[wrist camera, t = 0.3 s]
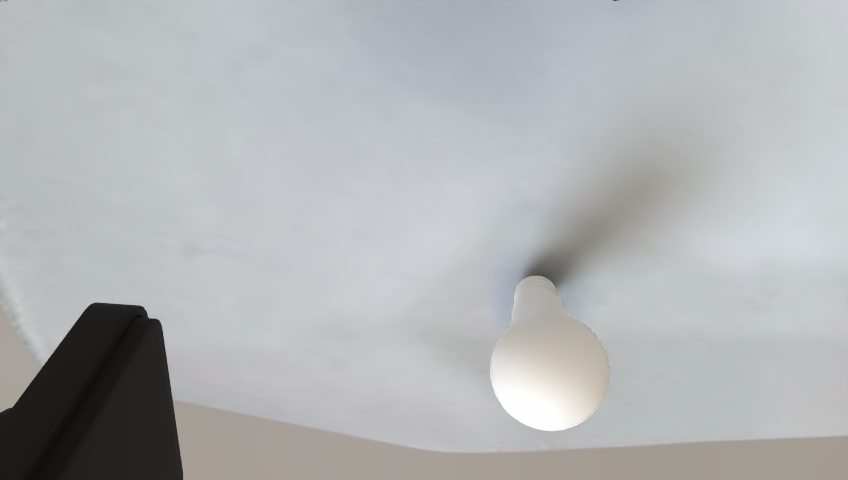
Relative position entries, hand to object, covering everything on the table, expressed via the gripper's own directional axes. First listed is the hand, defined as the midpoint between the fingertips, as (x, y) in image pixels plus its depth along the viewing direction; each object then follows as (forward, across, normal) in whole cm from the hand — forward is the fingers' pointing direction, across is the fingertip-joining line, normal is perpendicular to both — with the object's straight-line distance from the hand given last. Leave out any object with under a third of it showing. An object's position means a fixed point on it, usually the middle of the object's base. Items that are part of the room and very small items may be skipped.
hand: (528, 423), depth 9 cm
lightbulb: (+31, -6, +18) cm, 36 cm away
